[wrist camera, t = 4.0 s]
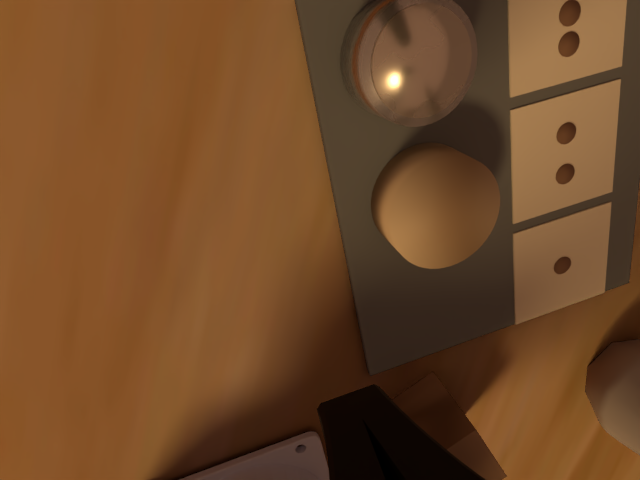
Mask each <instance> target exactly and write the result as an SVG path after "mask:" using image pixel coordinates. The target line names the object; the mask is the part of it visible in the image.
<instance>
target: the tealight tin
mask: <svg viewBox="0 0 640 480" xmlns="http://www.w3.org/2000/svg"><path fill="white" fill-rule="evenodd" d="M476 64H477V41H476V35H475V32H474V29H473V26H472V24H471V22H470V19H469V18H468V16H467V15H466V13H465V12H464V11H463V9H462V8H461V7H460V6H459V5H458V4H457V3H455V2H454V1H453V0H374V1H373V2H371V3H369V4H368V5H367V6H365V7H364V8H363V9H362V10H361V11H360V12H359V13H358V14H357V15H356V16H355V18H354V19H353V20H352V22H351V23H350V25H349V27H348V28H347V31H346V33H345V35H344V39H343V42H342V46H341V52H340V69H341V75H342V79H343V82H344V85H345V87H346V89H347V91H348V93H349V94H350V96H351V97H352V99H353V100H354V101H355V102H356V103H357V104H358V105H359V106H360V107H362V108H363V109H365V110H366V111H368V112H370V113H372V114H374V115H377V116H379V117H381V118H384V119H386V120H389V121H391V122H393V123H396V124H399V125H402V126H408V127H419V126H425V125H428V124H432V123H434V122H436V121H438V120H440V119H442V118H443V117H445V116H446V115H448V114H449V113H450V112H451V111H452V110H453V109H454V108H455V107H456V106H457V105H458V104H459V103H460V102H461V100H462V99H463V98H464V96H465V94H466V93H467V91H468V89H469V87H470V85H471V83H472V80H473V77H474V74H475V70H476Z"/></svg>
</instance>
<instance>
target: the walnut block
mask: <svg viewBox="0 0 640 480" xmlns="http://www.w3.org/2000/svg"><path fill="white" fill-rule="evenodd" d="M392 401H393V402H394V403H395V404H396V405H397V406H398V407H399V408H400V409H401V410H402V411H403V412H404V413H405V414H406V415H408V416H409V417H410V418H411V419H412V420H413V421H414V422H415V423H416V424H417V425H418V426H419V427H421V428H422V429H423V430H424V431H425V432H426V433H427V434H429V435H430V436H431V437H432V438H433V439H435V440H436V441H437V442H438V443H439V444H441V445H442V446H443V447H444V448H445V449H447V450H448V451H449V452H450V453H451V454H453V455H454V456H455V457H456V458H458V459H459V460H460V461H461V462H463V463H464V464H465V465H467V466H468V467H469V468H471V469H472V470H473V471H475V472H476V473H477V474H479V475H480V476H481V477H483V478H484V479H485V480H502V479H504V478H505V477H507V476H506V474H505V473H504V471H503V470H502V468H501V467H500V465H499V464H498V462H497V461H496V459H495V458H494V456H493V455H492V453H491V452H490V450H489V449H488V447H487V446H486V444H485V443H484V441H483V439H482V438H481V436H480V435H479V433H478V432H477V430H476V429H475V428H474V426H473V425H472V424H471V422H470V421H469V420H468V418H467V417H466V415H465V414H464V413H463V411H462V410H461V409H460V407H459V406H458V405H457V403H456V402H455V401H454V399H453V398H452V397H451V395H450V394H449V392H448V391H447V390H446V388H445V387H444V386H443V384H442V383H441V382H440V380H439V379H438V378H437V376H436V375H435V374H434V372H431V373H430V374H428V375H427V376H426V377H424V378H423V379H421V380H420V381H418V382H417V383H415V384H414V385H413V386H411V387H410V388H408V389H407V390H405V391H404V392H402V393H401V394H400V395H398V396H397V397H395V398H394V399H392Z"/></svg>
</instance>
